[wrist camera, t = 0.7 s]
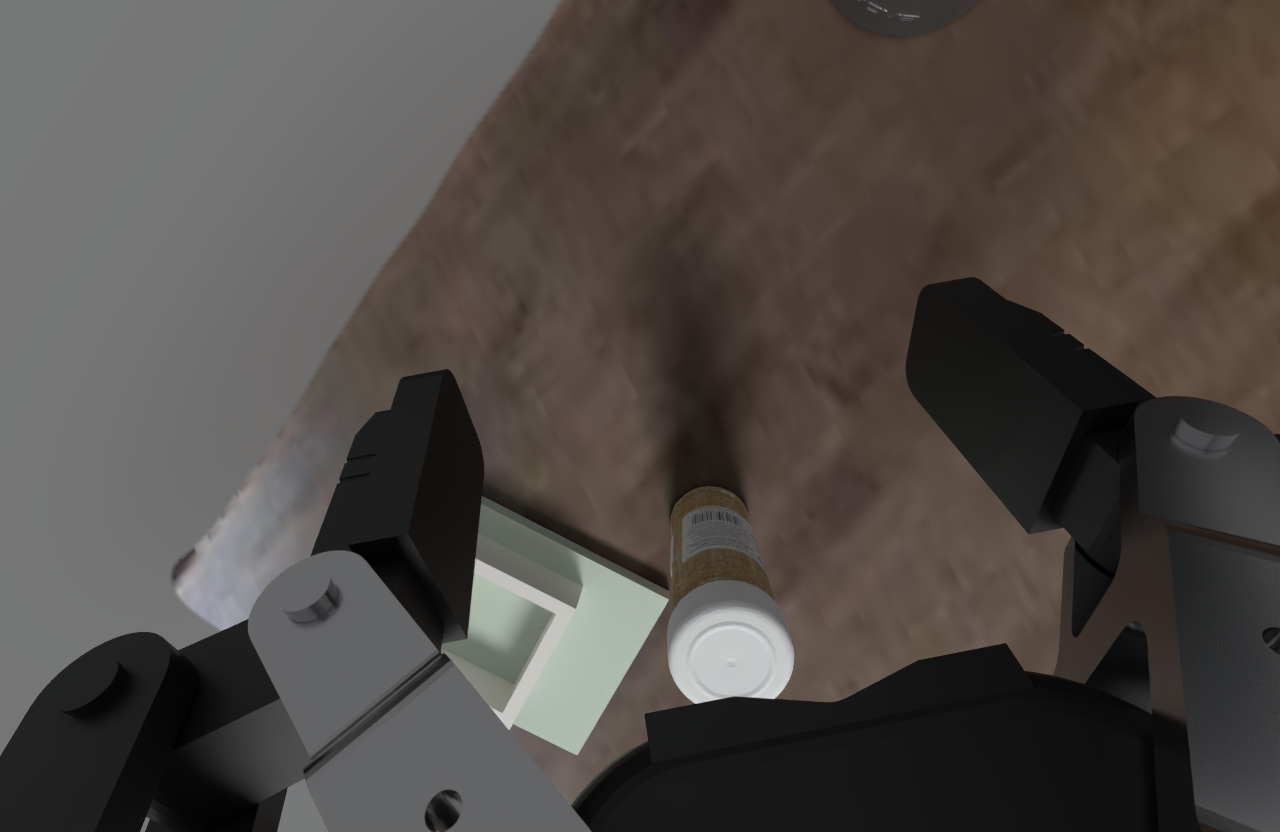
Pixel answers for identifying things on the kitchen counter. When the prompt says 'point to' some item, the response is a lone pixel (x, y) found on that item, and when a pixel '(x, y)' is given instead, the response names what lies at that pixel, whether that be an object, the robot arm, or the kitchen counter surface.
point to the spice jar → (723, 604)
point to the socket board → (549, 627)
